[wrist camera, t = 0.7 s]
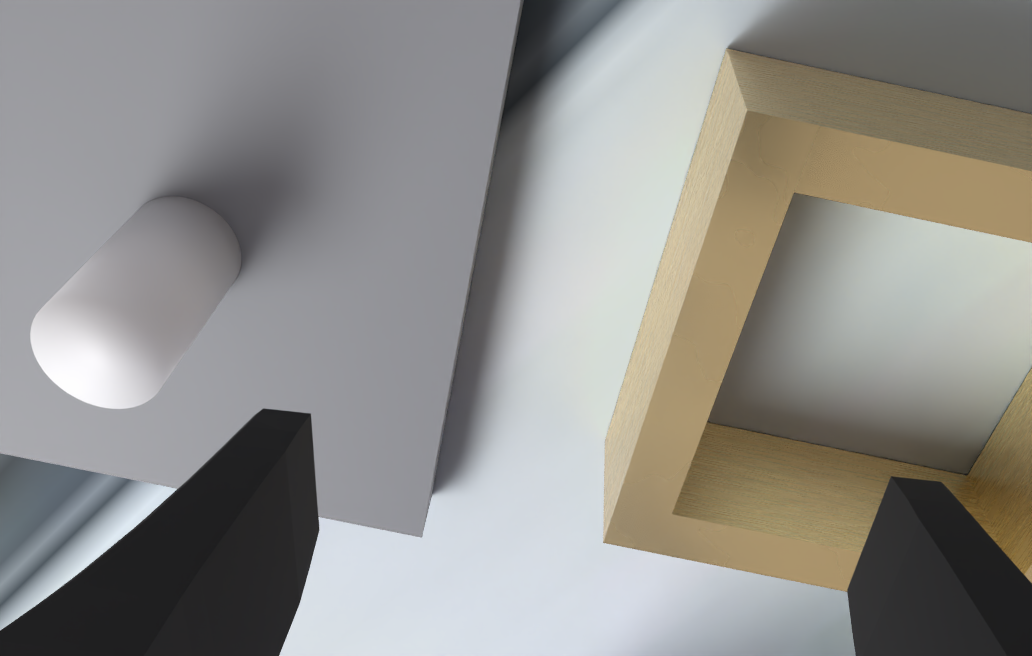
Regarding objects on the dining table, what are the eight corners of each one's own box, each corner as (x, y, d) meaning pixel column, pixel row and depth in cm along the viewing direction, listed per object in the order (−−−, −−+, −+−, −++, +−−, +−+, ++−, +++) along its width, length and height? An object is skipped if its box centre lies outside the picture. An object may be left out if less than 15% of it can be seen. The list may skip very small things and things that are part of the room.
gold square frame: (992, 520, 24) (1044, 631, 21) (604, 441, 24) (603, 542, 21) (1224, 155, 19) (1340, 236, 16) (726, 48, 18) (747, 110, 15)
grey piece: (431, 496, 25) (390, 670, 21) (-17, 406, 25) (-162, 561, 20) (532, -50, 18) (503, 31, 13) (-110, -189, 17) (-373, -157, 13)
